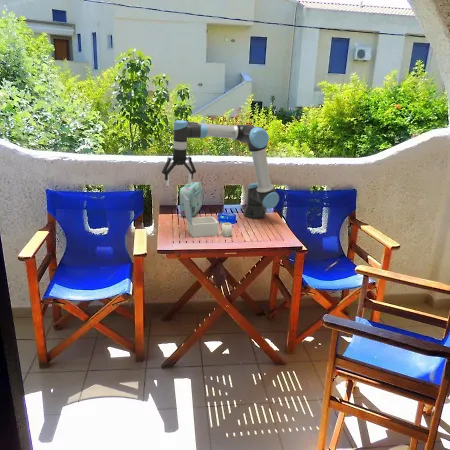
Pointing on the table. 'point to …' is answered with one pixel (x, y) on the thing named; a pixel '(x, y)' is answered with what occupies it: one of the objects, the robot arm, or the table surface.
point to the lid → (187, 209)
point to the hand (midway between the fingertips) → (178, 185)
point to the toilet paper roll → (226, 229)
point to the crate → (203, 226)
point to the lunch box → (191, 197)
